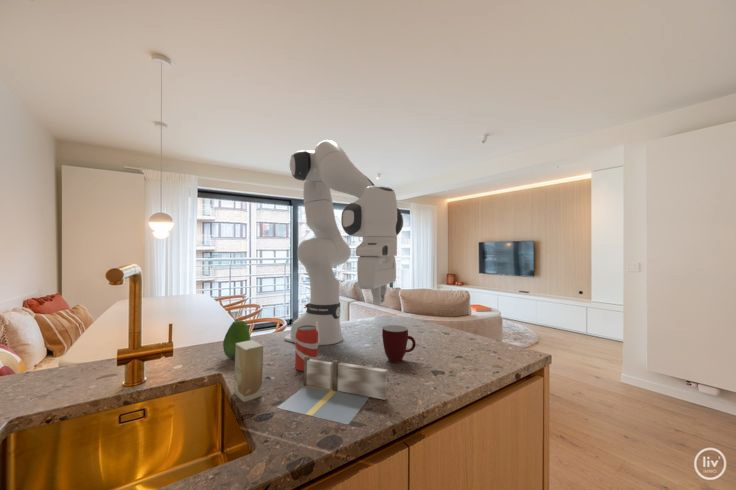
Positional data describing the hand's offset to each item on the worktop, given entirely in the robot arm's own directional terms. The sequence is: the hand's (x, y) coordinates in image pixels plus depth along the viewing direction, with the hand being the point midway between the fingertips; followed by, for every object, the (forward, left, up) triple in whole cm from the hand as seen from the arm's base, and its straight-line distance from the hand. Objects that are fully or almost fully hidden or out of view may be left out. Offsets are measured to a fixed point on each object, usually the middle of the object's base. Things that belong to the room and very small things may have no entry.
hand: (379, 303), depth 76 cm
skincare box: (-27, -16, -21) cm, 38 cm away
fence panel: (-2, -6, -20) cm, 21 cm away
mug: (0, +20, -21) cm, 29 cm away
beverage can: (-23, +3, -21) cm, 31 cm away
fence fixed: (-13, -6, -21) cm, 25 cm away
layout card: (-8, -11, -21) cm, 25 cm away
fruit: (-48, +2, -21) cm, 53 cm away
